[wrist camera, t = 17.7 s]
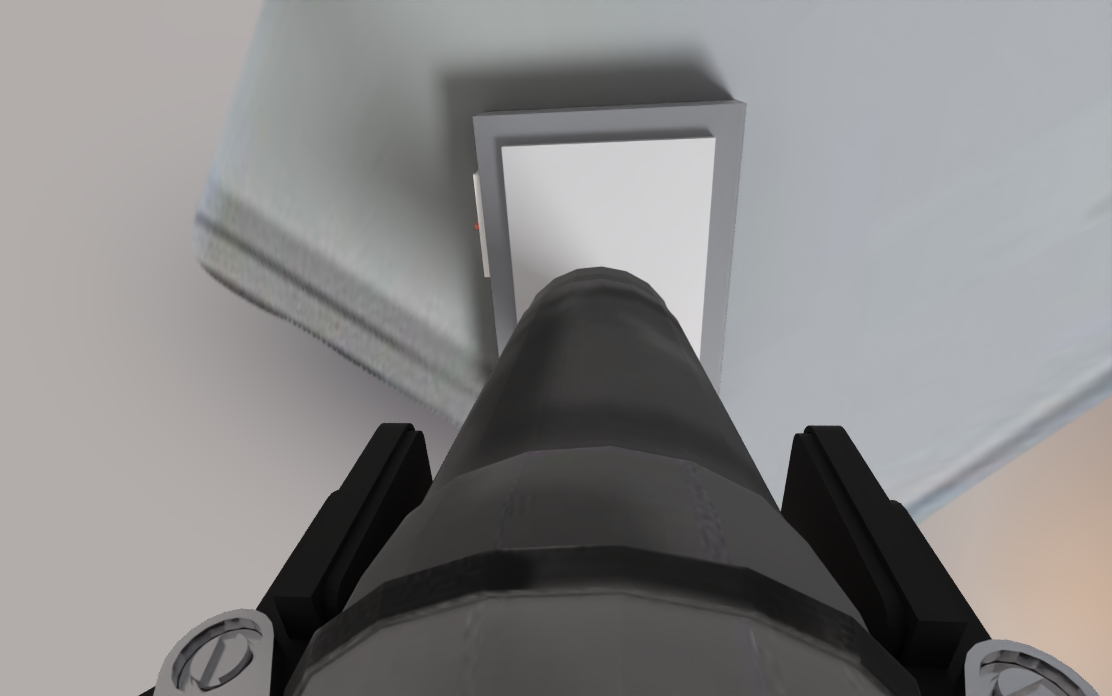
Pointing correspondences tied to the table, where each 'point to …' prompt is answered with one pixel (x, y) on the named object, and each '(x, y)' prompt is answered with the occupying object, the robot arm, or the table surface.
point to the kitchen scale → (613, 205)
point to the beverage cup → (598, 538)
